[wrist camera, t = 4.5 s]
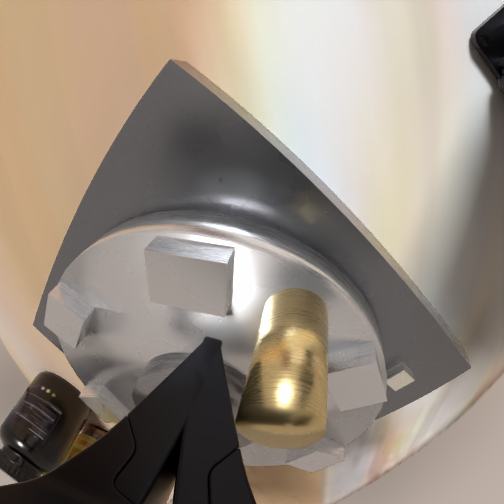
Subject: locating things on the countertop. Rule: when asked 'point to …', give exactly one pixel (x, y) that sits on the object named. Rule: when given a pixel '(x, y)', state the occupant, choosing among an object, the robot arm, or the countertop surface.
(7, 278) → the countertop surface
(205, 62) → the countertop surface
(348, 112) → the countertop surface
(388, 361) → the flat gray square plate
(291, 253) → the lugged silver disc
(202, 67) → the countertop surface
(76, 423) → the supplement bottle
